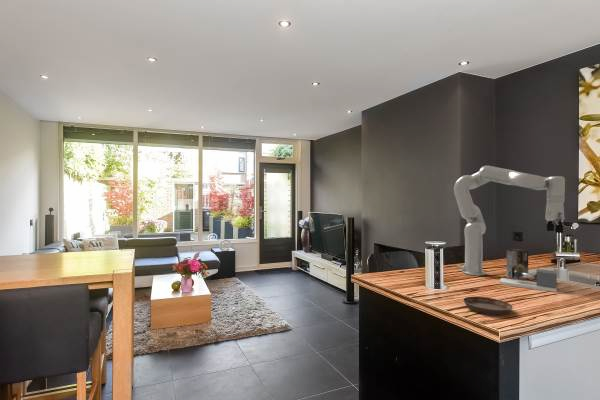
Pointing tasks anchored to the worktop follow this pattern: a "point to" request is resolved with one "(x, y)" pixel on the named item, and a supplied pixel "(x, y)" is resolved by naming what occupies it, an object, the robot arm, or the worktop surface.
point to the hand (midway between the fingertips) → (554, 231)
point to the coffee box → (517, 262)
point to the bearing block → (546, 278)
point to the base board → (524, 284)
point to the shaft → (524, 275)
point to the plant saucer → (487, 305)
